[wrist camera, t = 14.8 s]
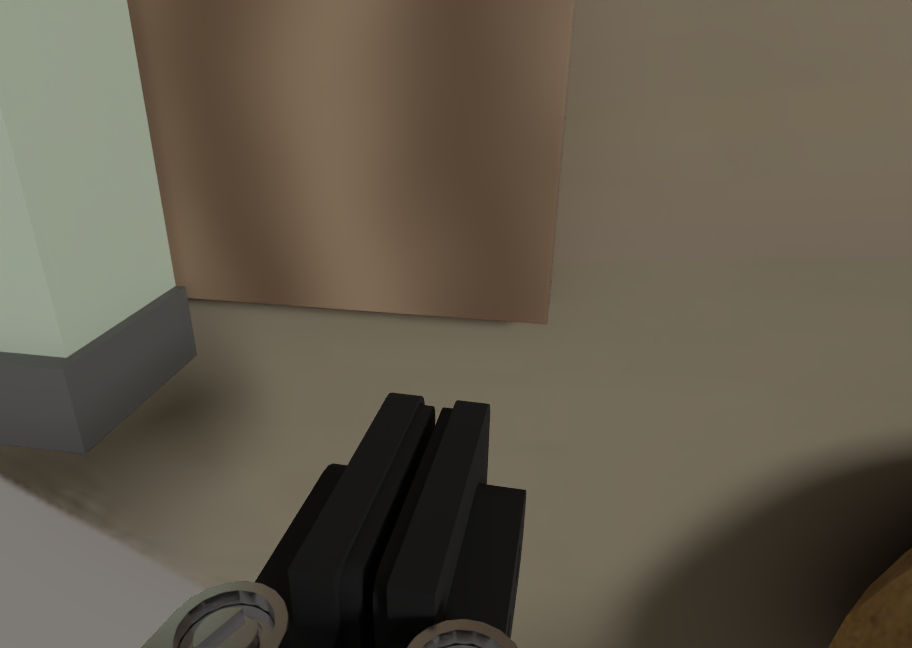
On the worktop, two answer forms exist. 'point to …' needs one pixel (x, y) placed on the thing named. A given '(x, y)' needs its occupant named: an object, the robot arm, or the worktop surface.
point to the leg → (79, 230)
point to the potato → (881, 612)
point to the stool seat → (359, 150)
